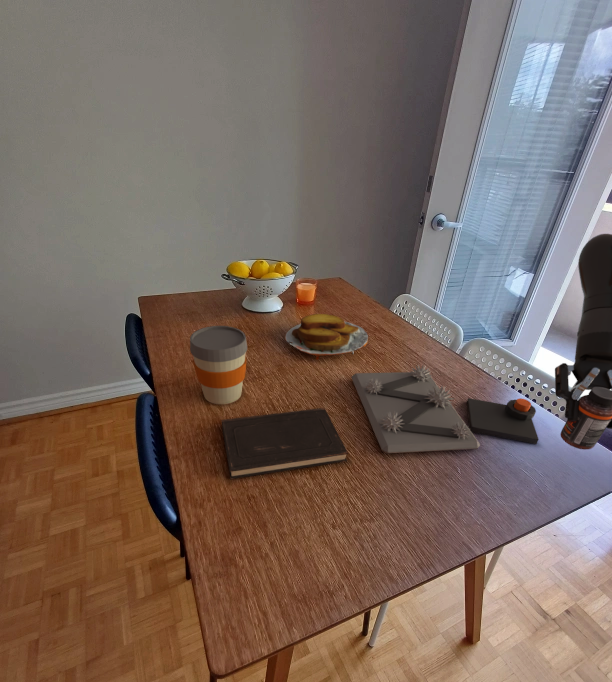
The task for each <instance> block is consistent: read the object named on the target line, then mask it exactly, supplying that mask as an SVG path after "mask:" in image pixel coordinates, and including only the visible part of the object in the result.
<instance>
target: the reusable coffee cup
mask: <svg viewBox="0 0 612 682" xmlns="http://www.w3.org/2000/svg"><path fill="white" fill-rule="evenodd" d="M189 351H190V354H191V355H192V358H193V359H192V365H193V368H194V371H195V375H196V378H197V381H198V383H199V384H200V387H201V389H202V394H203V398H204V399H205V401H208V402H209V403H211V404H215V405H228V404H232V403H235V402H236V401H238V400H239V399H240V398H241V397H242V393H243V383H244V380H245V378H246V371H247V359H248V358H247V356H246V353H247V351H248V342H247V335H246V333H245V332H244V331H242V330H241V329H240V328H237V327H233V326H228V325H211V326H205V327H202V328H199V329H197V330H195V331H193V332H192V333H191V335H190V337H189Z"/></svg>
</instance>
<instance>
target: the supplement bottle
mask: <svg viewBox="0 0 612 682" xmlns="http://www.w3.org/2000/svg"><path fill="white" fill-rule="evenodd" d="M577 401H579V409H578V418H577V421H575V422H569V421H567V420H566V422H565V423H564V425H563V427H562V429H561V431H560V438H561V439H562V441H564V442H565V443H566V444H567V445H569V446H570V447H573V448H574V449H578V450H583V451H584V450H592V449H593V448H594V447H595V446H596V444H597V443H598V441H599V440H600V438H601V437H602V435H603V433H604V432H605V430H606V429H607V428H606V427H607V426H608V424H609V423H610V421H611V419H612V390H611V389H610V390H609V389H607V388H603V387H593V388H592V389H591V390H589V392H588V394H585V395H581V396H580V397H579V398H578V399H577Z"/></svg>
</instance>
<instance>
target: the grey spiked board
mask: <svg viewBox="0 0 612 682" xmlns="http://www.w3.org/2000/svg"><path fill="white" fill-rule="evenodd" d="M426 367H427V364H425V365H422V366H421V367H420V364H419V363H418V366H417V365H415V368H413V367H411V369H412V370H410V371H402V372H401V371H399V372H398V371H397V372H394V371H393V372H355V373H354V374H353V375H351V376H350V378H351V381H352V383H353V385H354V387H355V390H356V392H357V395H358V397H359V399H360V403H361V405H362V406H363V409H364V412H365V414H366V416H367V418H368V421H369V423H370V426H371V428H372V431H373V433H374V435H375V437H376V440H377V442H378V445H379V447H380V449H381V451H382V452H383V453H384V454H401V453H402V454H403V453H420V452H423V453H425V452H441V451H442V452H443V451H459V450H460V451H461V450H478V449H479V447H480V446H481V442H479V440H478V439H477V438H476V437H475V435H474V434H473V433H474V432H471V431H470V427H469V425H467V424H466V422H465V421H464V420H463V419H462V417H461V415H460V414H459V413H458V411H457V410H456V409H455V408H454V406H453V400H455V399H456V398H455V397H451V396H452V394H454V393H453V392H452V393H451V392H450V391H451V389H448V390H446V386H447V385H445V386H443V385H441V386H440V387H439V386H438V384H437V383H436V381H435V380H434V379H433V376H432V374H431V370H430V367H428V368H427V369H426Z"/></svg>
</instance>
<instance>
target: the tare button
mask: <svg viewBox="0 0 612 682" xmlns="http://www.w3.org/2000/svg"><path fill="white" fill-rule="evenodd" d="M515 400H516V402H515V404H514V408H515V409H517V410H519V411H522V412H528V410H529V408H530V406H531V405H532V403H531V402H530V400H528V399H525V398H517V399H515Z"/></svg>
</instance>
